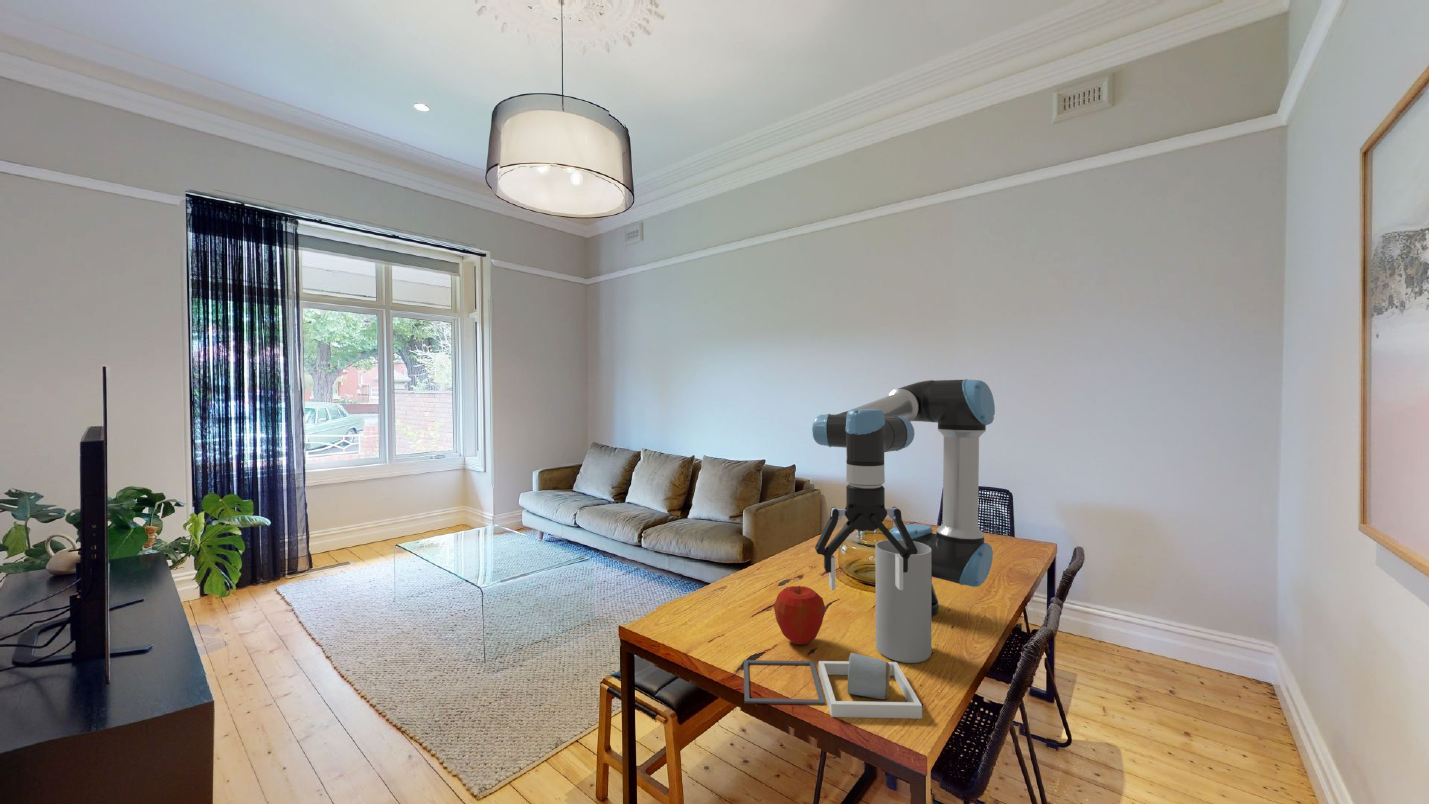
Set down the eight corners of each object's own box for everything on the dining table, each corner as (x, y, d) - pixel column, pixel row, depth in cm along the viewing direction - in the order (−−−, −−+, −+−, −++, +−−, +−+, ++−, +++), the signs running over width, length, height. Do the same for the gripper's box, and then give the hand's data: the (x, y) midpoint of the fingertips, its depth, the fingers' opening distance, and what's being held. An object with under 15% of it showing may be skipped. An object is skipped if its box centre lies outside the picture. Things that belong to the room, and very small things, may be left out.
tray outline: (813, 662, 121) (813, 661, 121) (825, 704, 105) (825, 702, 105) (743, 661, 121) (743, 660, 121) (744, 703, 106) (744, 701, 106)
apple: (765, 644, 130) (765, 587, 130) (789, 626, 139) (789, 573, 139) (811, 659, 122) (810, 599, 122) (833, 639, 132) (833, 583, 132)
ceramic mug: (889, 708, 103) (889, 669, 103) (846, 701, 106) (846, 662, 106) (889, 680, 114) (889, 645, 114) (850, 674, 116) (850, 639, 116)
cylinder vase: (869, 638, 132) (869, 539, 132) (920, 639, 132) (920, 539, 131) (884, 664, 120) (884, 555, 119) (939, 665, 119) (940, 555, 119)
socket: (893, 668, 118) (893, 657, 118) (922, 718, 100) (922, 705, 100) (817, 667, 119) (817, 656, 119) (831, 717, 101) (831, 704, 101)
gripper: (920, 481, 111) (920, 581, 112) (801, 481, 112) (802, 580, 113) (934, 487, 104) (934, 594, 104) (806, 488, 105) (807, 594, 105)
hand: (865, 587), depth 108 cm, fingers open, 13 cm apart
